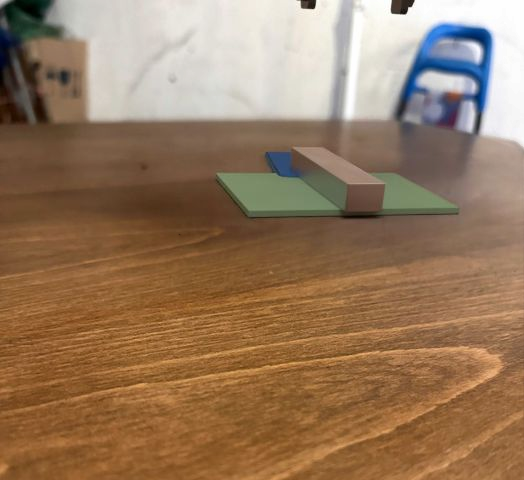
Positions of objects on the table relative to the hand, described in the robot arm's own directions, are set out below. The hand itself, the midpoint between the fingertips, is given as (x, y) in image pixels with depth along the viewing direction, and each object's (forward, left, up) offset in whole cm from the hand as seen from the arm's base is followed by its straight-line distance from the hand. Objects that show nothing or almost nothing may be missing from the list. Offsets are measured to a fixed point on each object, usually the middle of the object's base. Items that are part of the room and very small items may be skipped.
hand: (354, 11), depth 58 cm
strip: (+1, +1, -15) cm, 15 cm away
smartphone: (0, -11, -17) cm, 20 cm away
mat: (+1, +1, -16) cm, 16 cm away
